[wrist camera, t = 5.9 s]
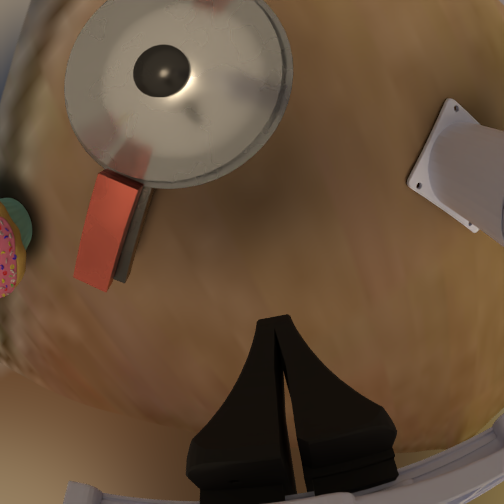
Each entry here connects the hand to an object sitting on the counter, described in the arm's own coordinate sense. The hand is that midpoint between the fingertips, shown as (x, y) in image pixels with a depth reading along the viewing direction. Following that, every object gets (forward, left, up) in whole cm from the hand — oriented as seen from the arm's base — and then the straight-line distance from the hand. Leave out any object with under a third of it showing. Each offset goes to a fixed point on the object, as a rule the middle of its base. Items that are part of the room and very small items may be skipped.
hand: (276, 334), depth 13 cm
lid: (+9, -6, -6) cm, 13 cm away
